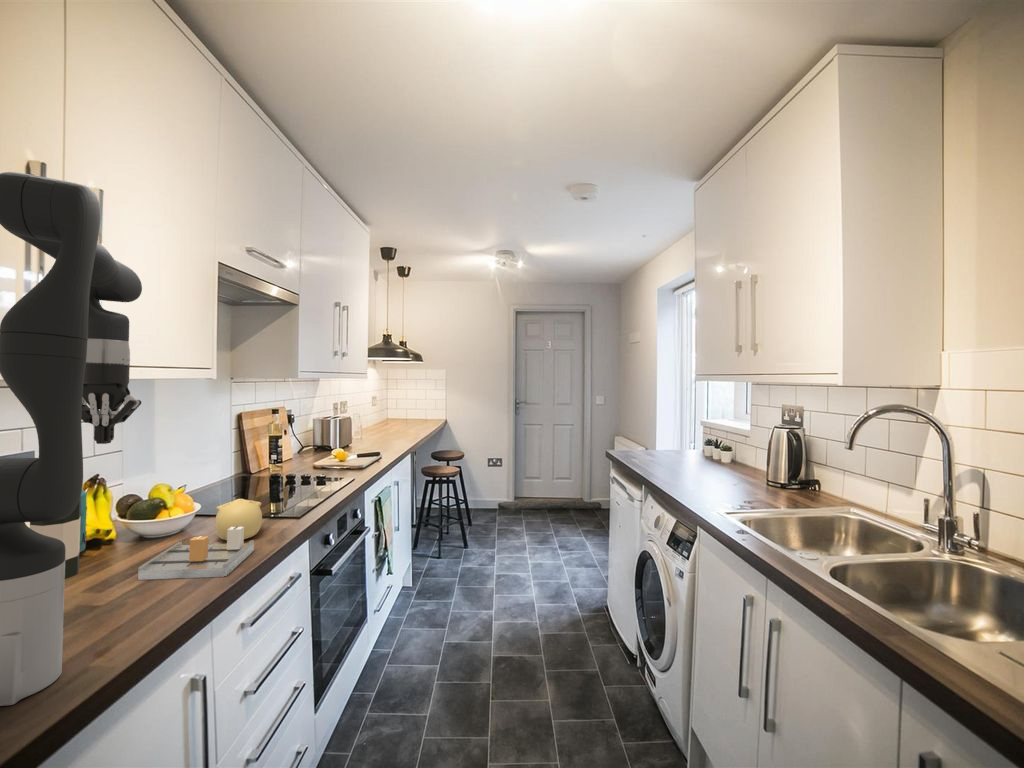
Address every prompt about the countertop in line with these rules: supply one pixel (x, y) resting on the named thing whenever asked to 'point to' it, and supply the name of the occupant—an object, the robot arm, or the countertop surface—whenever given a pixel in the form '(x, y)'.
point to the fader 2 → (235, 537)
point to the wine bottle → (64, 537)
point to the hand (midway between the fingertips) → (104, 443)
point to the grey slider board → (194, 562)
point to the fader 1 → (198, 548)
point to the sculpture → (239, 517)
